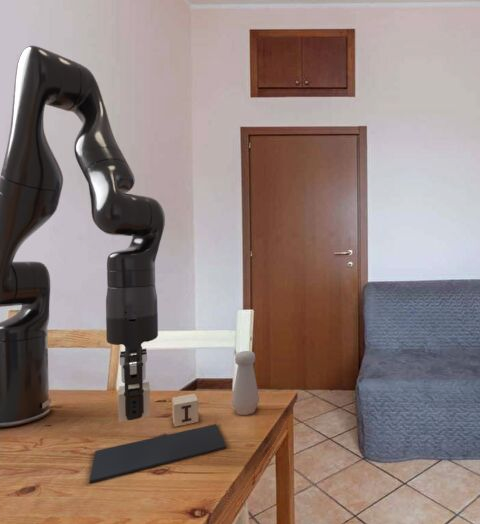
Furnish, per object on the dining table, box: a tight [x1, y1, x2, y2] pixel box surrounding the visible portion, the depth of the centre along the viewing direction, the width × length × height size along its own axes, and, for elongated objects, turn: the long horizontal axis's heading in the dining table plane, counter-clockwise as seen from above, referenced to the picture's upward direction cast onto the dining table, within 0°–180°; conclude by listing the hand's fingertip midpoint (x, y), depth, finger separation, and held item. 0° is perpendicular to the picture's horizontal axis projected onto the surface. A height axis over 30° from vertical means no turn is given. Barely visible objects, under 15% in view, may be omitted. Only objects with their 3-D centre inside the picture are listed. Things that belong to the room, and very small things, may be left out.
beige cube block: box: [171, 393, 199, 428], centre depth 77 cm, size 4×5×4 cm
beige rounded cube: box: [117, 381, 151, 423], centre depth 63 cm, size 4×5×4 cm
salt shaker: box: [231, 350, 260, 416], centre depth 82 cm, size 6×6×13 cm
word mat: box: [88, 423, 227, 484], centre depth 65 cm, size 20×10×1 cm, turn 120°
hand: (134, 412), depth 63 cm, fingers closed on beige rounded cube, 4 cm apart
